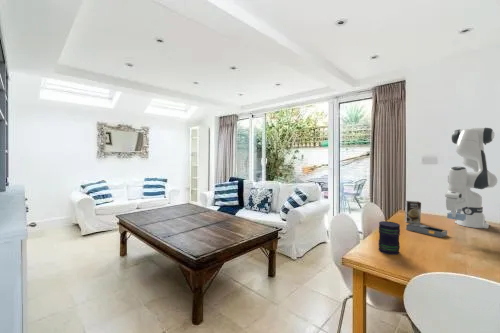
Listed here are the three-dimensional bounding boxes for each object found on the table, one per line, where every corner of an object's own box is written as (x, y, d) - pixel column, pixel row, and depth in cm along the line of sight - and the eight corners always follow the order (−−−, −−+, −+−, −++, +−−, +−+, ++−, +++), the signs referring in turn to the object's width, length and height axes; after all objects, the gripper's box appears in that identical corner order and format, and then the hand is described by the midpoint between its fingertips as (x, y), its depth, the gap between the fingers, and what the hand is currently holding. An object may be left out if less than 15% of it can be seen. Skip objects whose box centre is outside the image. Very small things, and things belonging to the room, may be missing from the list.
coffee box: (406, 222, 186) (407, 201, 185) (404, 220, 192) (405, 200, 191) (420, 223, 182) (421, 202, 181) (418, 221, 188) (419, 201, 187)
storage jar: (399, 256, 124) (400, 227, 123) (377, 252, 129) (378, 224, 128) (399, 250, 132) (400, 222, 131) (379, 246, 137) (379, 220, 137)
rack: (412, 227, 173) (412, 222, 172) (447, 235, 155) (447, 229, 155) (406, 229, 168) (406, 224, 168) (441, 238, 151) (441, 231, 151)
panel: (450, 216, 152) (450, 211, 152) (465, 219, 146) (466, 214, 146) (447, 218, 150) (447, 213, 150) (462, 220, 143) (462, 215, 143)
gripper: (457, 191, 155) (456, 212, 156) (443, 194, 145) (443, 217, 145) (470, 192, 150) (469, 214, 151) (457, 196, 139) (456, 219, 140)
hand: (456, 216), depth 148 cm, fingers closed on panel, 5 cm apart
